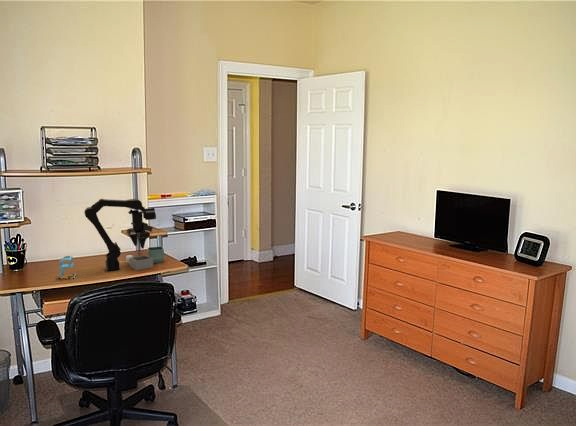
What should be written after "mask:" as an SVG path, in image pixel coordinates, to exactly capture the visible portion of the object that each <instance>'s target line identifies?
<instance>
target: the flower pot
mask: <svg viewBox="0 0 576 426" xmlns="http://www.w3.org/2000/svg"><path fill="white" fill-rule="evenodd" d="M147 253H148V256H149V257H151V258H153V264H159V263H163V261H164V260H163V259H164V256H165V249H164V247H163V245H161V246H160V245H159V246H150V247H147Z"/></svg>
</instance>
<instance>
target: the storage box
mask: <svg viewBox="0 0 576 426" xmlns="http://www.w3.org/2000/svg"><path fill="white" fill-rule="evenodd" d="M129 267H130V268H131V269H133V270H135V271H142V270H147V269H152V268H154V263H153V258H151V257H149V255H146V254H145V255H140V256H133V257H132V258H130V263H129Z"/></svg>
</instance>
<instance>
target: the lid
mask: <svg viewBox="0 0 576 426" xmlns="http://www.w3.org/2000/svg"><path fill="white" fill-rule="evenodd" d="M132 257H134V255H133V254H131V255H126V256H125V260H123V261H121V262H123V263H124V262H125V263H127V264H130V258H132Z"/></svg>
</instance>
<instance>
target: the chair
mask: <svg viewBox="0 0 576 426" xmlns="http://www.w3.org/2000/svg"><path fill="white" fill-rule="evenodd" d="M65 261H66V262H68V263H64V262H65ZM58 262H59V267H58V269H59V270H60V273H59V276H58V278H59V277H62V275H63V276H64V274H65V271H66V270H67V269H72V268H73V267H74V266H75V262H73V256H72V255H67V256H64V257H61V258H60V260H59V261H58ZM74 274H75V275H76V274H77V273H74ZM75 275H74V276H73V277H75ZM75 278H76V277H75Z"/></svg>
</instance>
